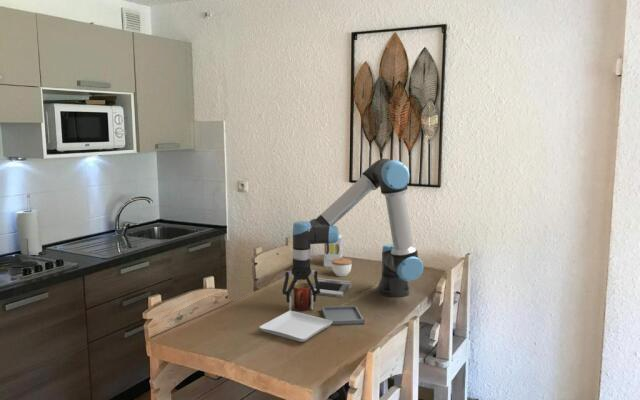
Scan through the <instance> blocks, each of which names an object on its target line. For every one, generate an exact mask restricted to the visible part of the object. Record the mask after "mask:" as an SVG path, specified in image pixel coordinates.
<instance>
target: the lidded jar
mask: <svg viewBox="0 0 640 400" xmlns="http://www.w3.org/2000/svg"><path fill="white" fill-rule="evenodd" d="M331 262H332V267H331V271H332V272H333V274H335V276H337V277H347V276H348V275H349V274H350V272H351V270H352V265H353V264H352V263H353V260H352V259H350V258H344V257H343V256H342V257H341V258H336V259H333V260H332V261H331Z"/></svg>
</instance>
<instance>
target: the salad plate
mask: <svg viewBox="0 0 640 400" xmlns="http://www.w3.org/2000/svg"><path fill="white" fill-rule="evenodd" d="M331 324H332V321H330V320H327V319H325V318H324V317H318V316H315V315H311V314H308V313H303V312H298V311H294V310H291V311H289V310H288V311H286V312H284V313H283V314H279V315H278V316H277V317H275V318H273V319H271V320H269V321H267V322H265V323H263V324H261V325H260V326H259V329H260V330H261V331H263V332H264V333H267V334H271V335H273V336H276V337H277V336H278V337H282V338H285V339H289V340H293V341H296V342H300V343H302V342H306V341H308V340H309V339H310V338H312V337H313V336H315V335H317V334H319V333H320V332H322V331H323V330H325V329H326V328H328V327H330V325H331Z"/></svg>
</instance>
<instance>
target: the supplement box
mask: <svg viewBox="0 0 640 400" xmlns="http://www.w3.org/2000/svg"><path fill="white" fill-rule="evenodd" d="M343 235H344V234H339V238H338V241H337V242H336V243H330V244H329V243H327V244H323V245H324V246H323V267H329V268H332V262H331V261H332V260H333V259H336V258H341V257H343Z"/></svg>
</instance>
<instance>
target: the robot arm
mask: <svg viewBox="0 0 640 400" xmlns="http://www.w3.org/2000/svg"><path fill="white" fill-rule="evenodd" d="M409 181H410V171H409V168H408V167H407V166H406V164H404V163H403V162H401V161H400V160H396V159H390V158H381V159H378V160H376V161H374V162H373V163H372V164H371V165H369V167H367V169H365V170H364V171H363V172H362V173H361V174H360V178H359V179H358V180H357V181H356V182H354V184H352V185H351V186H350V187H349V188H348V189H347V190H346V191H345V192H344V193H342V195H340V196H339V197H338V198H337V199H336V200H334V202H333V203H331V204H330V205H329V206H328V207H327V208H326V209H325V210H324V211H323V212H322V213H321V214H319V215H318V216H317V217H316V218H312V219H311V220H309V221H303V220H299V221H296V222H293V225H292V267H291V270H284V271H285V272H284V273H285V278H284V282H283V287H282V289H281V290H282V293H281V294H283V295H285V296H286V297H285V298H286V303H288V311H292V291H293V287H294V285H295V283H298V282H297V281H301V280H302V281H305V280H306V283H308V284H309V286H310V287H311V290H312V292H313V293H311V304H310V310H311V311H313V310H314V303H315V302H316V301H317V295H316V294H317V293H320V288H319V284H318V279H317V278H318V273H319V272H318V271H317V269H313V270H312V269H311V245H320V244H323V245H324V244H327V243H329V244H330V243H336V242H337V241H338V238H339V235H340V233H339V228H338V226H337V225H335V224H337V223H338V222H339V221H340V220H341V219H342V218H344V216H345V215H346V214H347V213H349V212H350V211H351V210H352V209H353V208H354V207H355V206H356V205H357V204H359V203H360V202H361V201H362V200H363V199H365V197H366V196H367V195H368V194H369V193H371V192H372V191H376V190H377V189H378V188H379V189H380V194H381V195H383V196H384V197H385V203H386V209H387V215H388V221H389V222H388V223H389V226H390V227H389V228H390V233H391V239H392V244H390V243H389V244H385V245H383V246H382V251H381V253H382V254H381V277H380V280H379V282H378V284H377V285H378V286H377V293H378V295H382V296H386V297H391V298H392V297H393V298H399V297H405V296H409V295H410V294H411V293H410V291H411V289H410V285H409V282H414V281H417V279H419V278H420V277H421V276H422V274H423V272H424V263H423V261H422V259H420V257H419V254H418V248H417V247H416V246H415V245H414V244H413V237H412V231H411V223H410V218H409V211H408V204H407V198H406V192H407V191H408V189H409V188H408V182H409ZM311 274H312V277H313V279H314V282H315V285H316V290H314V288H313V286H312V284H313V283H312V282H311V280H310V278H309V276H310V275H311ZM291 275H292V276H293V278H292V281H291V282H290V285H289V286H288V283H289V279H290V277H291Z"/></svg>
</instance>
